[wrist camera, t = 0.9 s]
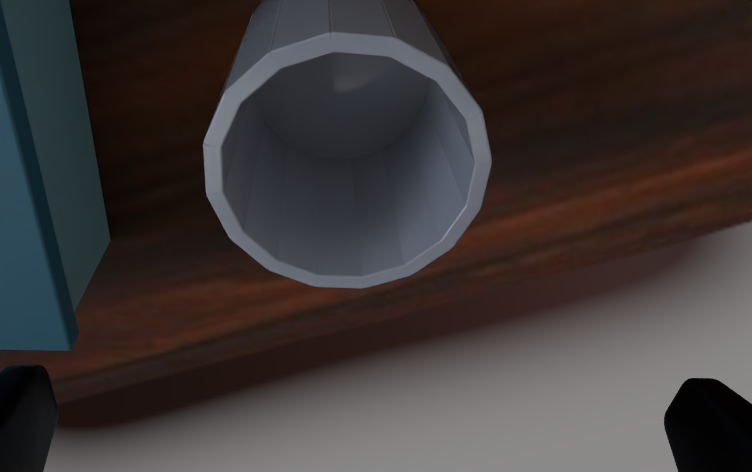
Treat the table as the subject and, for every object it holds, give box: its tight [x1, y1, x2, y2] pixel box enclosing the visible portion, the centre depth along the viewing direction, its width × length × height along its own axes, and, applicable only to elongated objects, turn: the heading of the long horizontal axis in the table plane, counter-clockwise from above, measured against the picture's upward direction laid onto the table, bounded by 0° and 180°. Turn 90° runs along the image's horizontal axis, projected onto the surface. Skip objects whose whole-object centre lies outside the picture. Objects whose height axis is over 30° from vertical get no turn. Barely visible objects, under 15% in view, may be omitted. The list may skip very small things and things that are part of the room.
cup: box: [203, 0, 492, 288], centre depth 16 cm, size 6×6×7 cm
